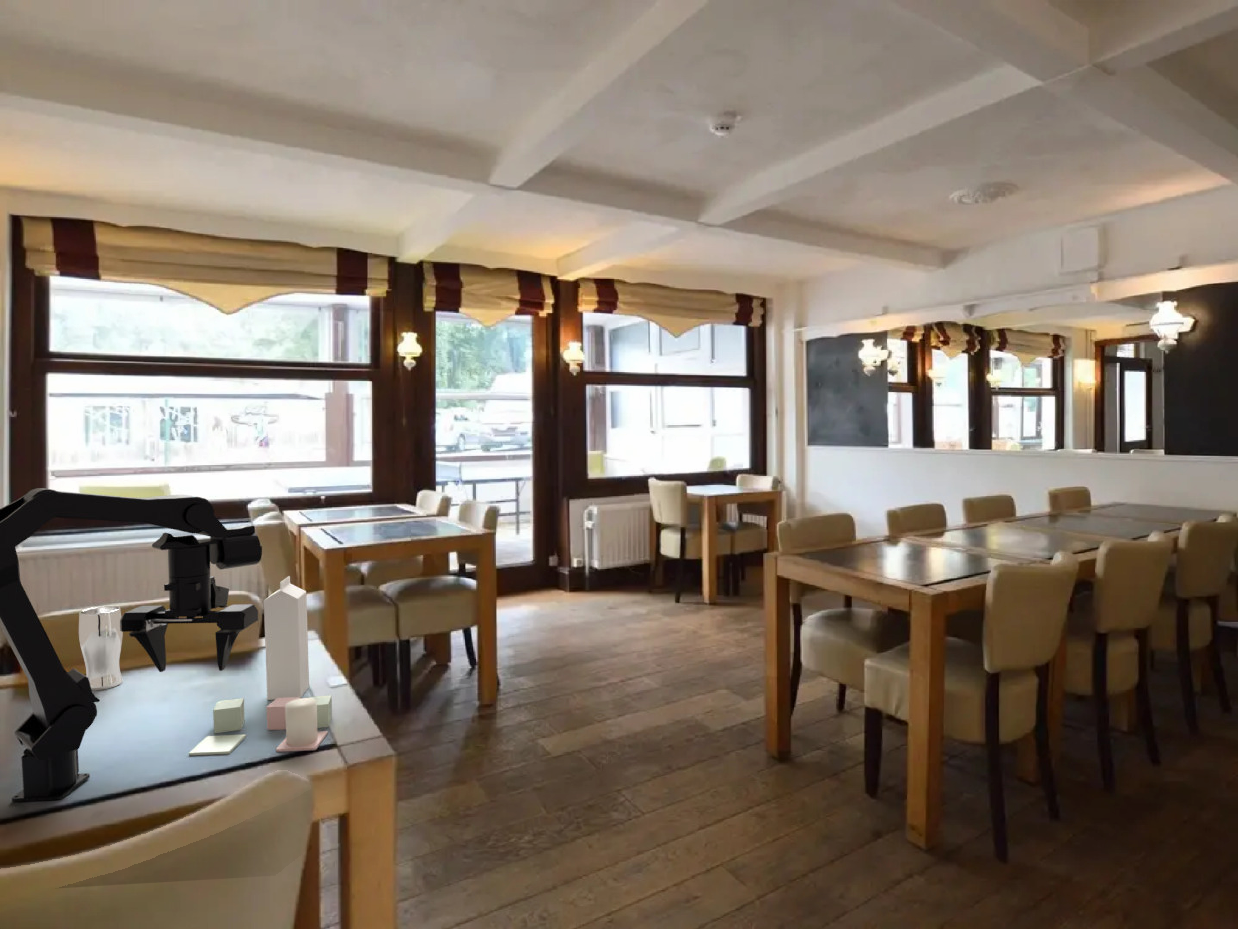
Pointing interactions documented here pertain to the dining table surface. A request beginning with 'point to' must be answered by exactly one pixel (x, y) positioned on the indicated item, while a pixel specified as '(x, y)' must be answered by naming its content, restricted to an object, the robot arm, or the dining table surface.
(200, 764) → the dining table surface
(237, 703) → the sage cube
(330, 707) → the sage cube
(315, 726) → the cream rounded cylinder
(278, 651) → the milk
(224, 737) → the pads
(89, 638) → the beer glass
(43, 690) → the robot arm
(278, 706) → the cube rose
